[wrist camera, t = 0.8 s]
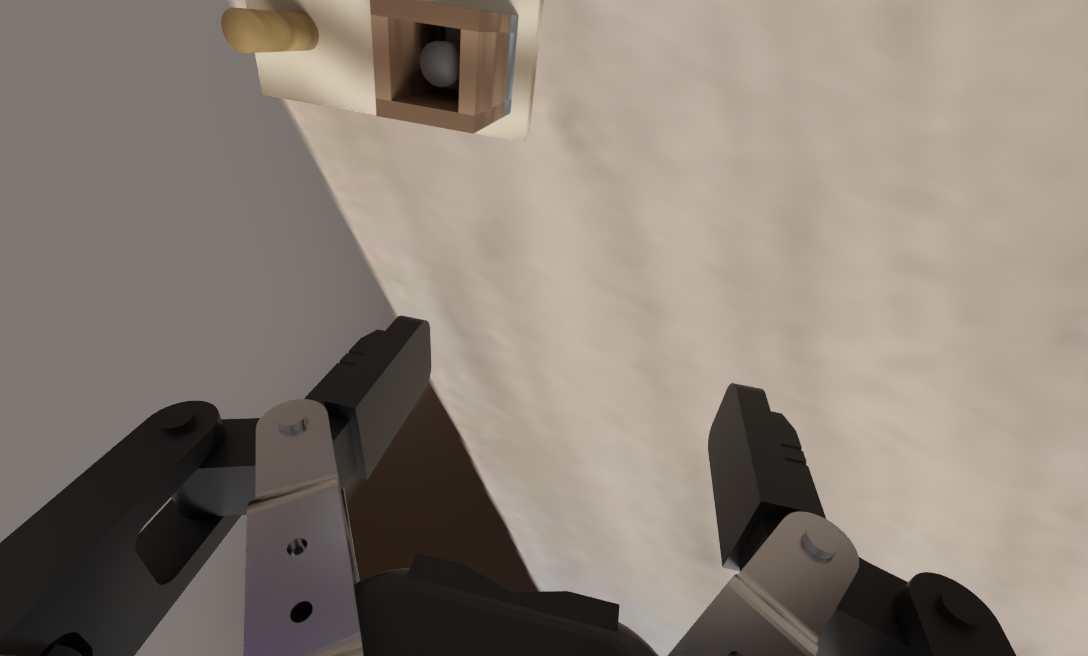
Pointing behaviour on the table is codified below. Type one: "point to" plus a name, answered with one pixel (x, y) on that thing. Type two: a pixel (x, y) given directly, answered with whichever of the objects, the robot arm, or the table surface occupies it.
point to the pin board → (366, 53)
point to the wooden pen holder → (483, 64)
